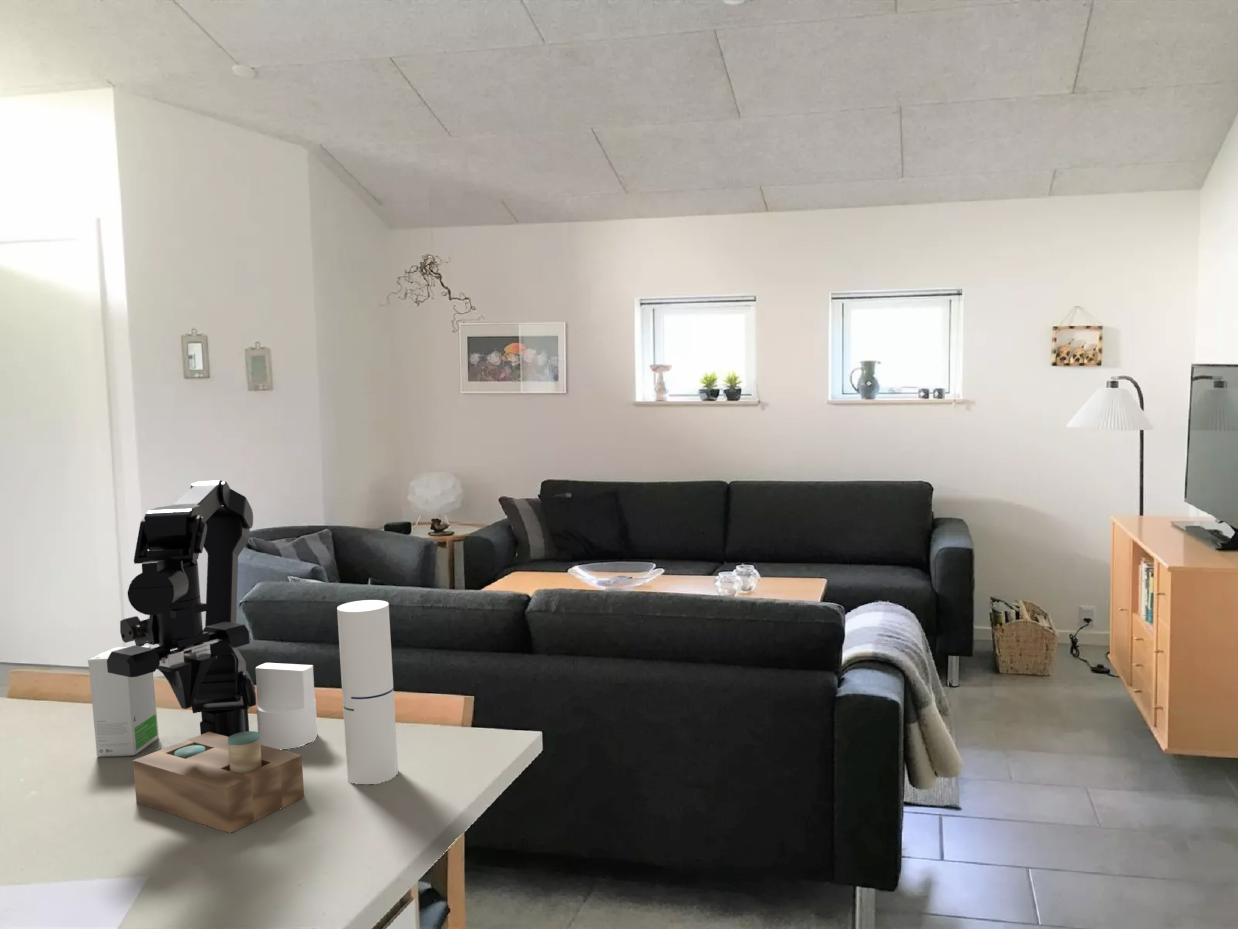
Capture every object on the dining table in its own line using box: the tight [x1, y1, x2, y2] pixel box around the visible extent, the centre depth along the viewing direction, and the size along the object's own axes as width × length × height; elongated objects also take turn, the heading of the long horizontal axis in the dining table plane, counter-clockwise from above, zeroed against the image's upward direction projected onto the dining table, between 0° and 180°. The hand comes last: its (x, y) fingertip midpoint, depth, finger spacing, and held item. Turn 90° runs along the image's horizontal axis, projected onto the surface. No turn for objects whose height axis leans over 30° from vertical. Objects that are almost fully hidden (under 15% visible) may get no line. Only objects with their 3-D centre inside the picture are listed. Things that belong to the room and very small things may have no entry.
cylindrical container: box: [336, 599, 399, 785], centre depth 142 cm, size 7×7×25 cm
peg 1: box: [174, 745, 205, 759], centre depth 140 cm, size 4×4×6 cm
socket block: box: [132, 732, 305, 834], centre depth 137 cm, size 12×20×6 cm, turn 59°
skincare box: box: [87, 645, 160, 758], centre depth 157 cm, size 8×7×16 cm
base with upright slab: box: [255, 662, 318, 750], centre depth 158 cm, size 9×9×12 cm
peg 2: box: [228, 730, 262, 775], centre depth 133 cm, size 4×4×6 cm
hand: (186, 707), depth 139 cm, fingers closed
